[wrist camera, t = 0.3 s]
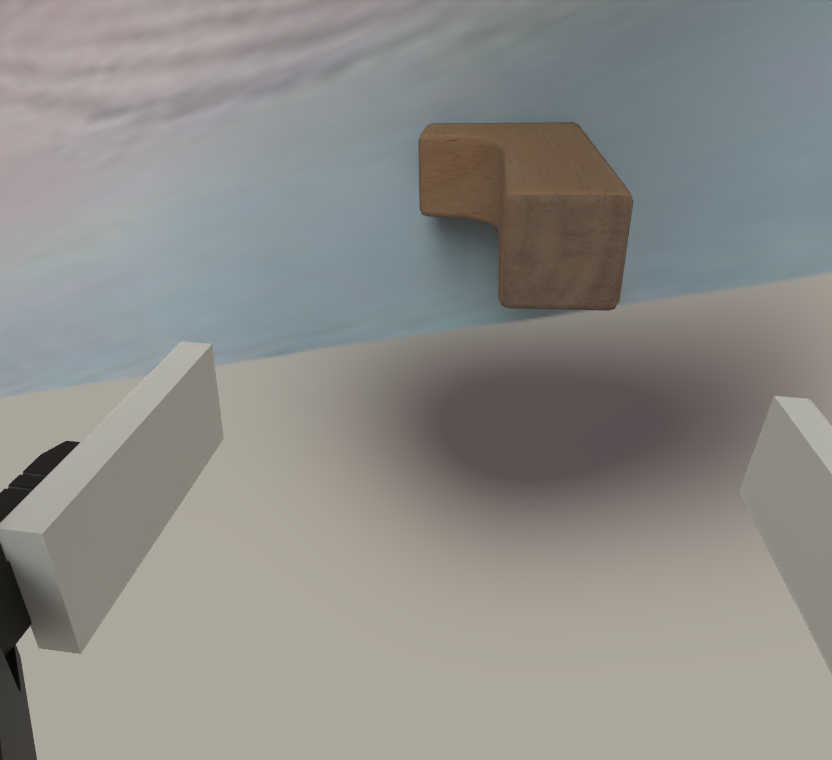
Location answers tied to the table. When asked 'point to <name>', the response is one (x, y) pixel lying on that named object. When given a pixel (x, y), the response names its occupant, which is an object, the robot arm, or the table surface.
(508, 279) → the wooden block
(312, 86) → the table surface
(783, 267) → the table surface
